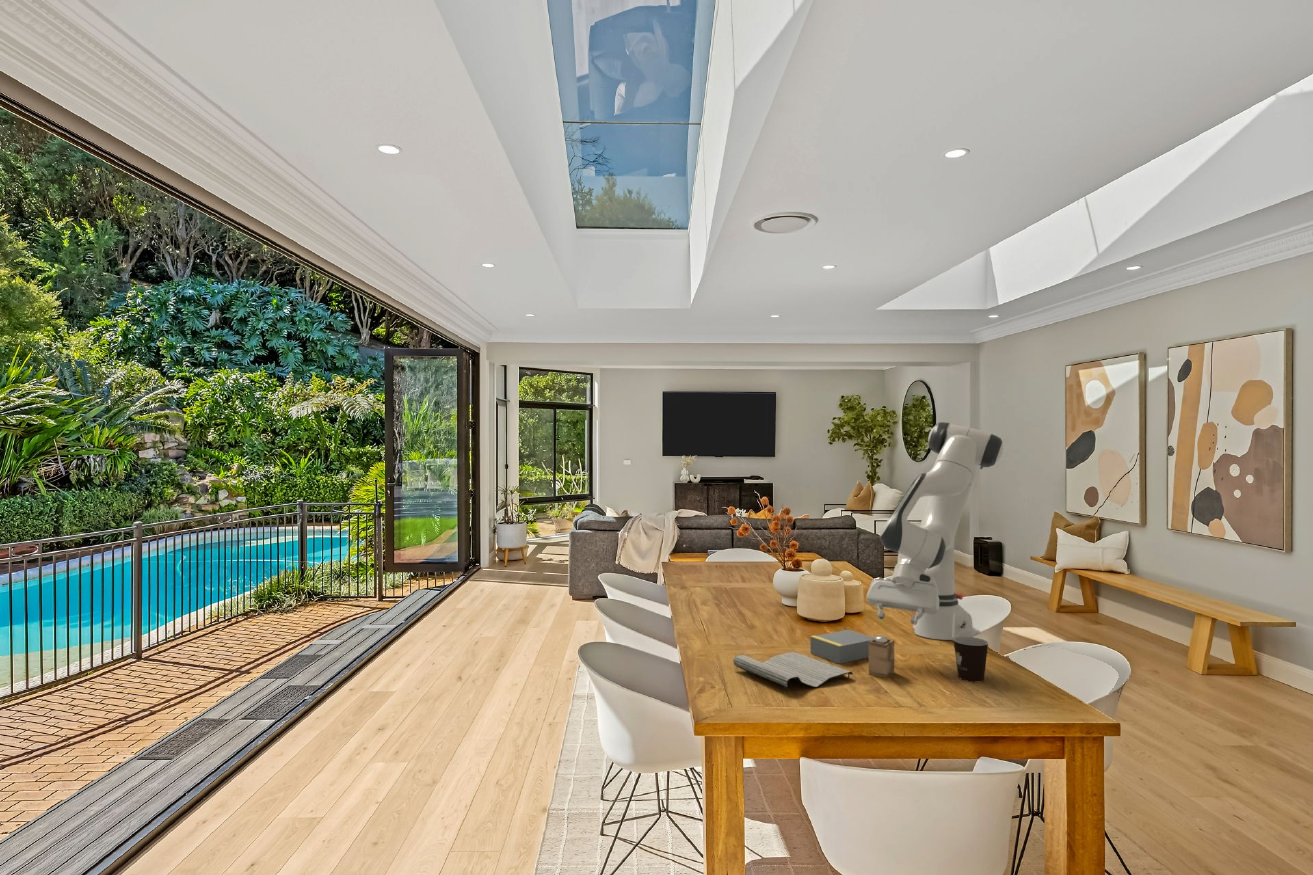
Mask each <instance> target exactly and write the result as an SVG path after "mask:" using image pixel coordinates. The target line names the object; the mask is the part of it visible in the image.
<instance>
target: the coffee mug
mask: <svg viewBox="0 0 1313 875" xmlns="http://www.w3.org/2000/svg"><path fill="white" fill-rule="evenodd" d="M952 641H953V648H954V655H955V662H956V670H957V671H956V672H957V677H958V678H959V679H960V678H961V679H960V680H962V681H965V680H968V681H967V682H970V681H973V682H972V683H976V682H975V681H982V680H984V681H985V673H986V665H987V656H988V648H989V647H988V646H989V642H988V641H987V640H986V639H982V638H978V637H975V636H973V637H956V638H954V639H953V640H952ZM982 682H983V681H982Z"/></svg>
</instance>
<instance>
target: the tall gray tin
mask: <svg viewBox="0 0 1313 875" xmlns="http://www.w3.org/2000/svg"><path fill="white" fill-rule="evenodd" d="M868 648H869V657H868V675H870V676H875V677H879V678H883V679H887V678H889V677H890V676H892V675H893V674H894V673H895V640H894V639H890V638H889V639H888V638H887V643H886V644H881V643H876V642H875V637H874V639H872V640H871V641H869V642H868Z"/></svg>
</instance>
